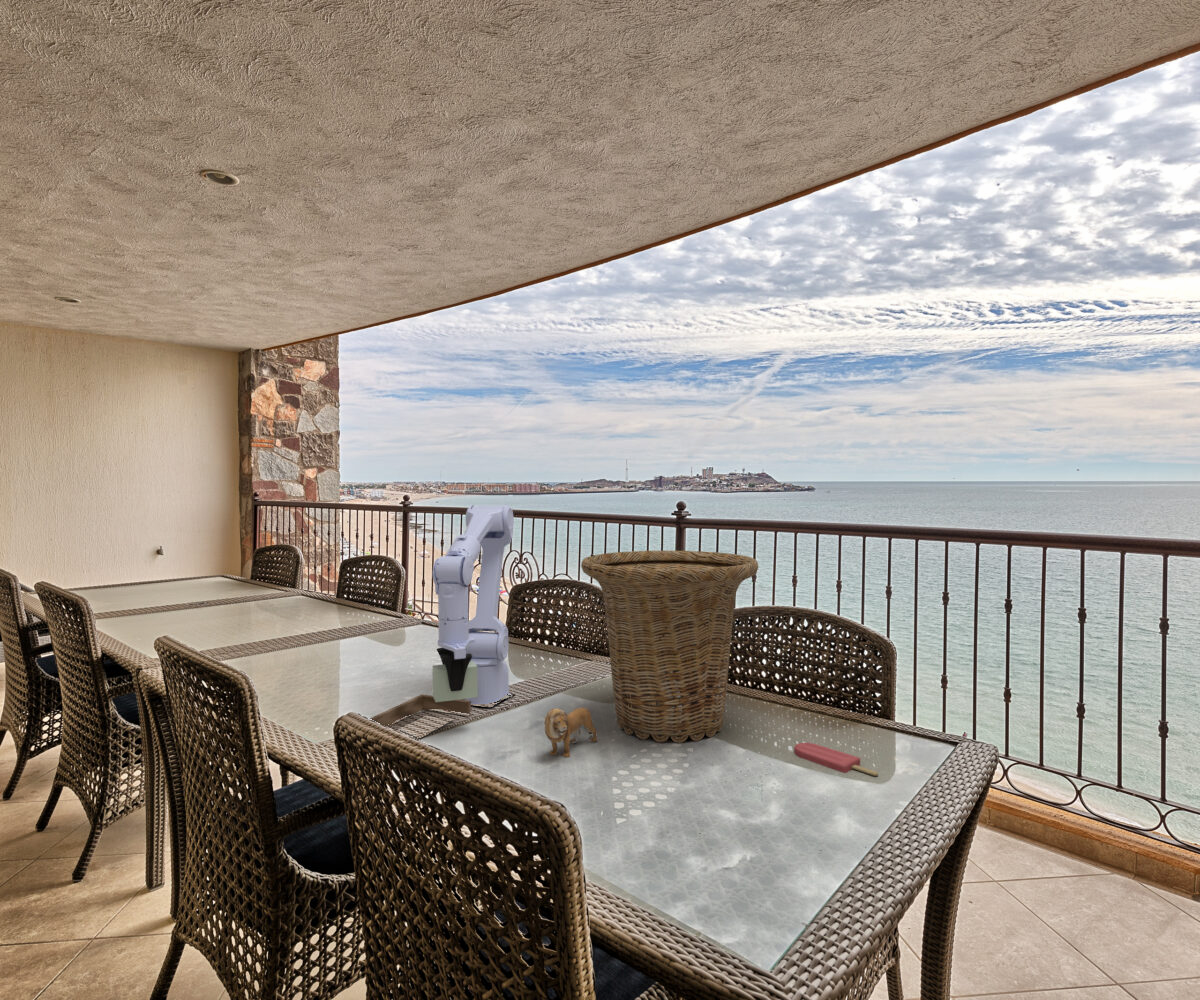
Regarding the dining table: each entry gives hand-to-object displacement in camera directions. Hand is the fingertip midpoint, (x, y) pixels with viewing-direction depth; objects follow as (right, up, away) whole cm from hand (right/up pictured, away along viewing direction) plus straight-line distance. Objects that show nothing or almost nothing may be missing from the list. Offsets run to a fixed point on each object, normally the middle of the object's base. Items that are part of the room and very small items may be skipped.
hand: (454, 687), depth 129 cm
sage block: (0, -2, 0) cm, 2 cm away
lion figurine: (+23, -9, -9) cm, 27 cm away
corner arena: (-8, -9, +5) cm, 13 cm away
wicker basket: (+42, -9, +4) cm, 43 cm away
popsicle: (+69, -9, -15) cm, 71 cm away
